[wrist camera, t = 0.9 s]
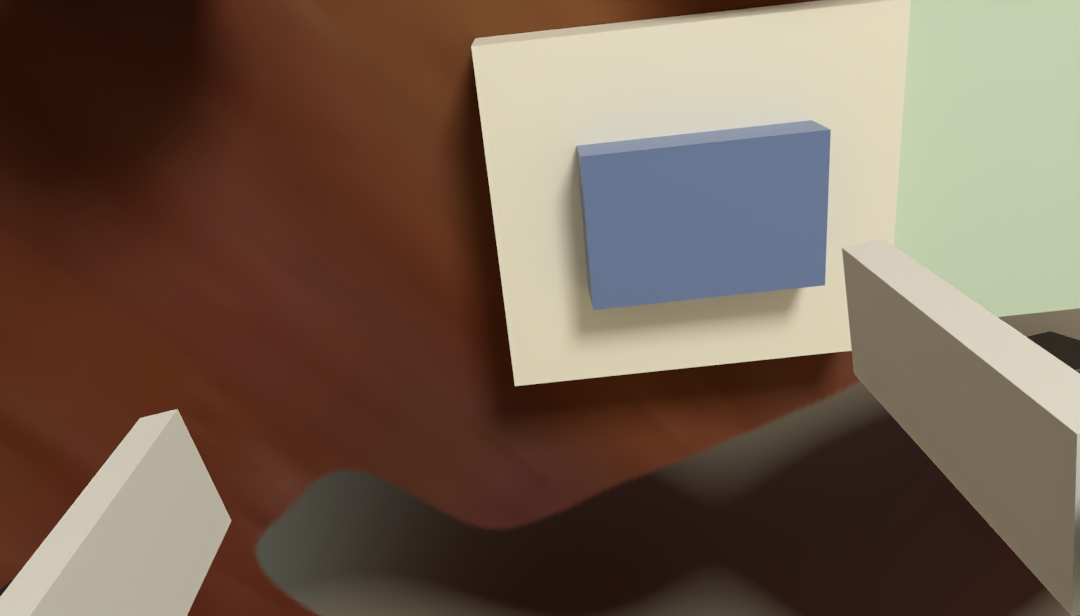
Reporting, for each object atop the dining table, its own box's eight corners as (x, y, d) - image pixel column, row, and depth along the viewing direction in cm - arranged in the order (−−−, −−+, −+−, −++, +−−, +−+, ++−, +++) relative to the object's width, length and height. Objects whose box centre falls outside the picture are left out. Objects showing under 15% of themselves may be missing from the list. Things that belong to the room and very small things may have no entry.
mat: (849, 329, 39) (852, 332, 38) (867, -32, 33) (870, -32, 32) (1100, 303, 39) (1104, 305, 38) (1166, -64, 32) (1171, -65, 32)
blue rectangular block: (588, 291, 33) (593, 310, 31) (576, 145, 31) (580, 156, 29) (807, 267, 33) (824, 285, 31) (811, 120, 31) (830, 129, 29)
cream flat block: (514, 346, 38) (514, 386, 35) (475, 38, 33) (471, 46, 29) (850, 310, 38) (886, 346, 35) (866, -5, 33) (911, -2, 29)
